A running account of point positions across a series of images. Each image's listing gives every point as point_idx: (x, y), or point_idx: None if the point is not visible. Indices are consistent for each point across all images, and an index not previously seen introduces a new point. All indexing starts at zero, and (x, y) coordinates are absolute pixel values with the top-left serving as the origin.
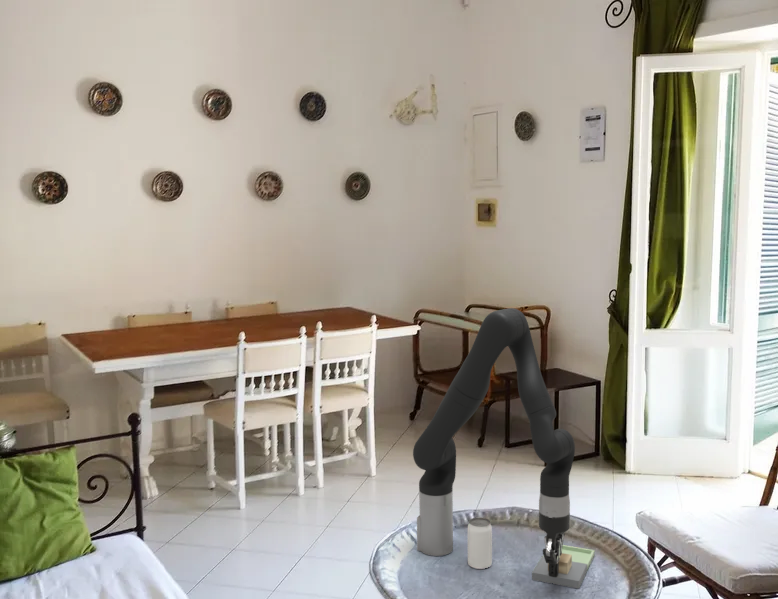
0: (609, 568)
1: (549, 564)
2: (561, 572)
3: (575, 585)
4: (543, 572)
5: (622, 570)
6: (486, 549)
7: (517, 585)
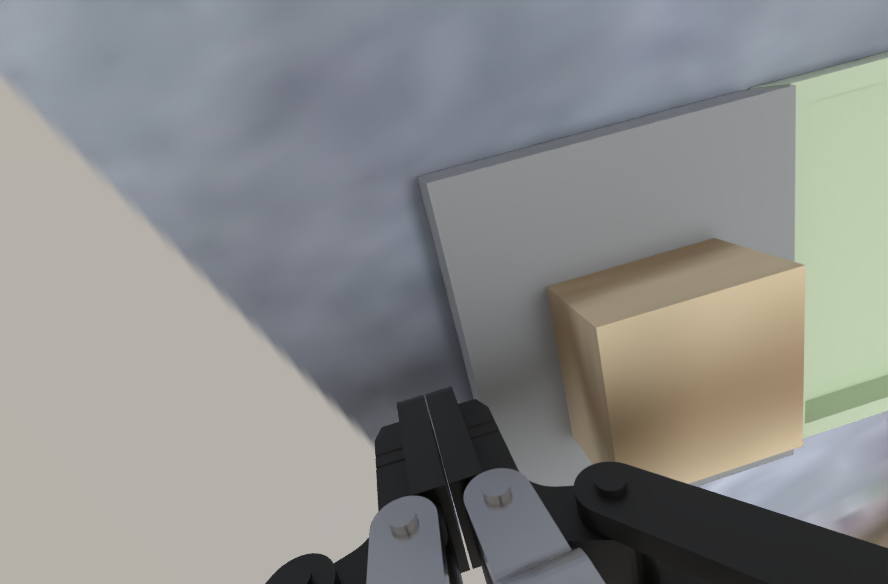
0: (836, 492)
1: (410, 483)
2: (567, 398)
3: None
4: (491, 273)
5: None
6: None
7: (234, 119)
